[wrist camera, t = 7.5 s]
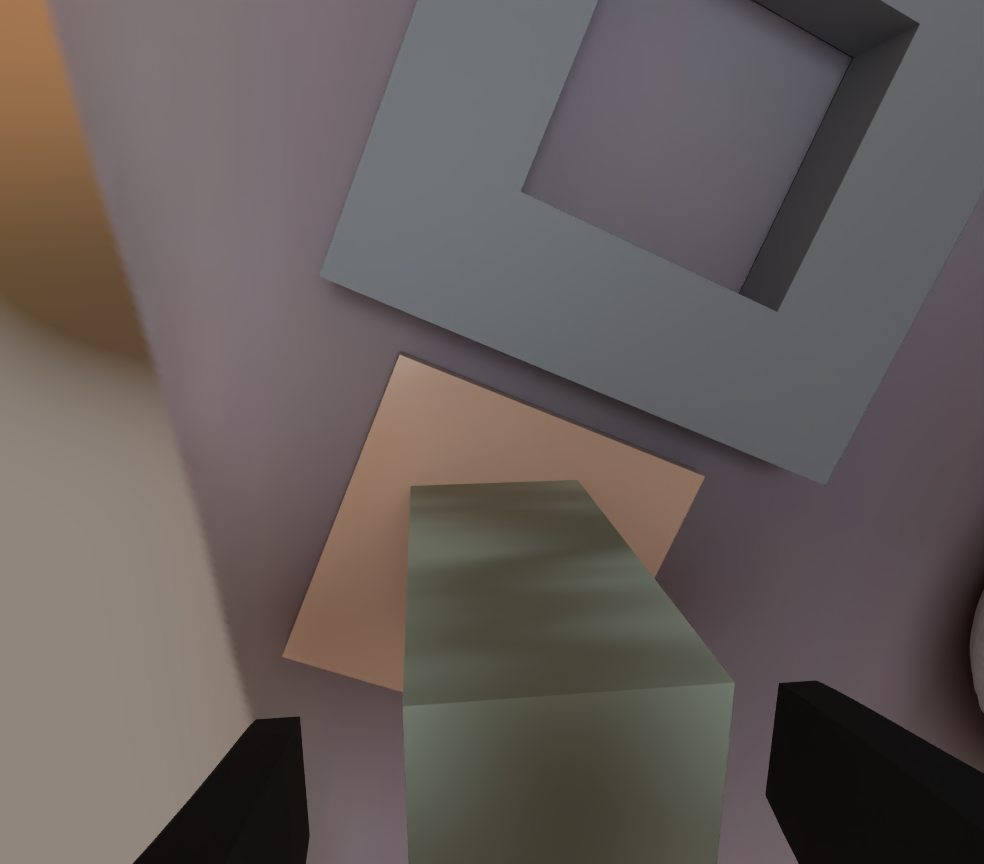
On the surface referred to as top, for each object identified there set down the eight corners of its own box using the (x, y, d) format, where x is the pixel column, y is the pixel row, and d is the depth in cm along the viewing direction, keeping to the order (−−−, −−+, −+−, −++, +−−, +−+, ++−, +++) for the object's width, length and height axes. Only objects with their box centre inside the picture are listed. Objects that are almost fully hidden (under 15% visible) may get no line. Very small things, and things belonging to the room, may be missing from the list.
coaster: (695, 469, 16) (705, 476, 16) (567, 727, 18) (572, 742, 17) (400, 351, 15) (399, 354, 14) (286, 643, 16) (281, 656, 16)
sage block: (577, 479, 16) (734, 682, 8) (572, 628, 16) (708, 940, 9) (410, 485, 15) (402, 706, 7) (415, 638, 16) (413, 975, 8)
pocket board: (1025, -15, 15) (1117, -59, 13) (778, 461, 17) (825, 485, 15) (547, -321, 12) (571, -433, 10) (332, 276, 14) (318, 276, 12)
